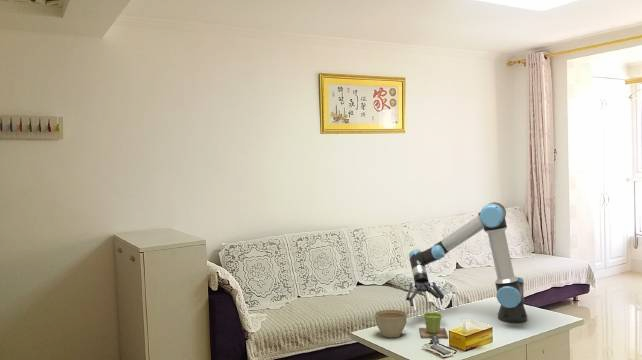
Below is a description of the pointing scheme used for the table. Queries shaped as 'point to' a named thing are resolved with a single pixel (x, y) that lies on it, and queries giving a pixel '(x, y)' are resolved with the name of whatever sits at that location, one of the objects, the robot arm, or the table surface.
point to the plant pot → (432, 321)
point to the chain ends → (435, 339)
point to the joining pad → (441, 334)
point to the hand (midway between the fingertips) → (428, 310)
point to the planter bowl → (391, 322)
